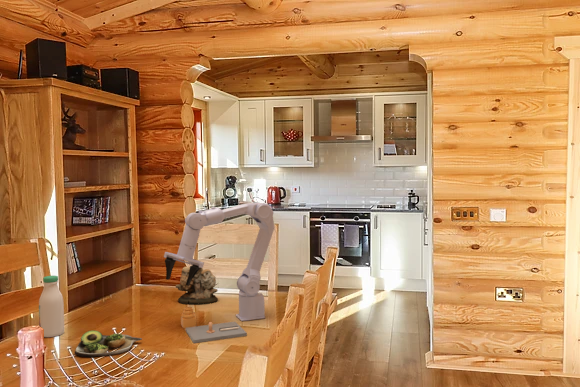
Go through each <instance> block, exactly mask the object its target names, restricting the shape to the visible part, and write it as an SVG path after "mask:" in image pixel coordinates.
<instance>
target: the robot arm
mask: <svg viewBox="0 0 580 387" xmlns="http://www.w3.org/2000/svg"><path fill="white" fill-rule="evenodd" d="M274 213H275V212H274V211H273V209H272V207H271V206H270V205H269V204H268V203H265V202H256V201H255V202H247V203H242V204H238V205H235V206H234V205H233V206H231V207H228V208H225V209H221V208H220V207H216V206H211V207H210V209H209V208H208V209H206V210H202V209H201V210H200V209H199V210H198V212H191V213H188V215H187V216H186V217H185V218H184V223H185V227H184V230H183V232H182V235H181V240H180V243H179V247H178V250H177V253H172V252H168V251H165V252H164V255H163V258H165V259H164V264H165V280H168V281H169V280H170V279H171V276H172V273H173V270H174V266H175V264H176V262H181V263H183V264H187V265H190V266H189V267H190V270H189V275H188V279H187V282H186V285H187V286H188V285H190V283H191V281H192V279H193V277H194V276H195V274H196V273H197V272H198V271H199V270H200V268H203V269H204V265H205V261H204V262H203V261H201V260H198V259H196V258H195V259H194V255H195V251H196V249H197V248H196V247H197V245H198V244H197V243H198V240H199V237H200V233H201V229H203V228H204V227H209V226H213V225H217V224H219V223H220V224H221V223H222V222H223V221H224V219H226V218H231V217H236V216H240V215H247V216H250V217H251V218H252V219H253V220H254V221H255V222H256V224H257V225H258V228H259V229H258V232H257V236H256V239H255V242H254V245H253V247H252V250H251V254H250V257H249V259H248V263H247V265H246V267H245V268H244V269H243V270H242V272H241V275H240V276H239V277H238V278H237V279H236V287H237V289H238V290H239V292H238V313H237V314H235V317H236V318H237V319H239V320H240V321H241V322H244V321H245V322H246V321H252V320H254V321H255V320H261V319H265V318H266V316H265V315H266V314H265V312H266V311H265V310H266V309H265V297H264V294H263V293H262V292H259V291H260V289H261V288H260V287H261V285H260V284H261V283H260V281H261V269H262V265H263V263H264V261H265V258H266V254H267V251H268V248H269V246H270V242H271V239H272V237H273V234H274V230H275V223H274V222H275V221H274ZM192 265H193V266H192Z"/></svg>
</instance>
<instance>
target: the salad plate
mask: <svg viewBox="0 0 580 387" xmlns="http://www.w3.org/2000/svg"><path fill="white" fill-rule="evenodd" d="M142 340H143V338H141V337H134V336H131V335H128V334H122V333H113V334H110V335H107V334H106V335H105V334H103V333H102V332H100V331H99V330H93V329H92V330H88V331H86V332H85V333H83V334H82V336H81V337H80V341H79V343H78V344H77V347H76V348H75V351H74V354H75V355H77V357H82V358H97V357H106V356H111V355H112V356H113V355H118V354H119V355H120V354H122V353H125V352H127V351H129V350H130V349H131V348H132V346H133V344H134V343H136V342H138V341H142ZM117 349H118V350H117ZM110 350H114V351H110Z"/></svg>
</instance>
